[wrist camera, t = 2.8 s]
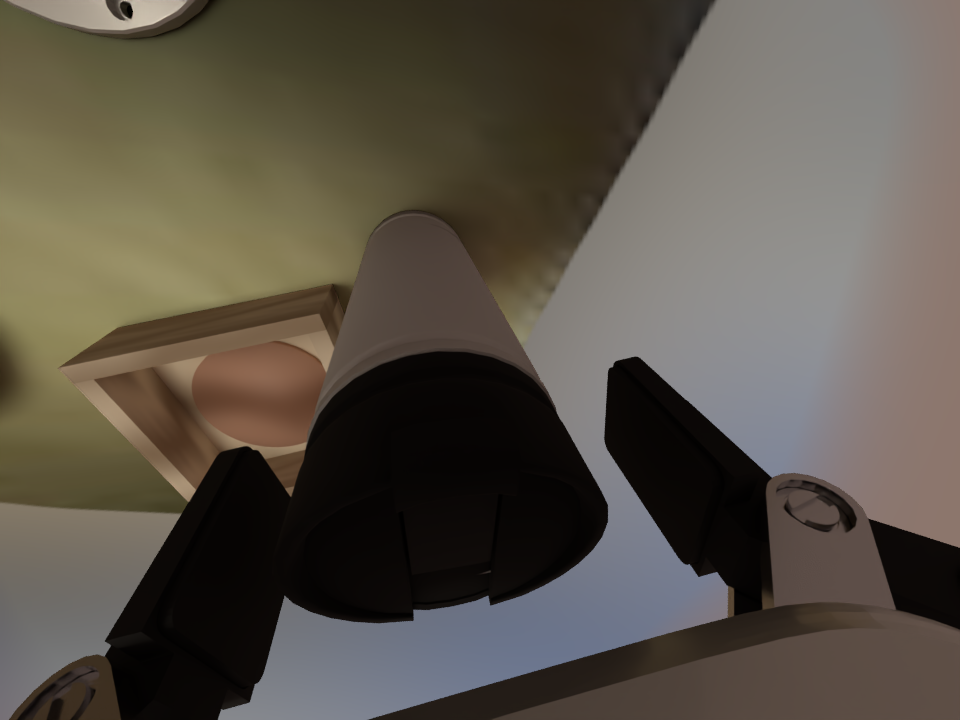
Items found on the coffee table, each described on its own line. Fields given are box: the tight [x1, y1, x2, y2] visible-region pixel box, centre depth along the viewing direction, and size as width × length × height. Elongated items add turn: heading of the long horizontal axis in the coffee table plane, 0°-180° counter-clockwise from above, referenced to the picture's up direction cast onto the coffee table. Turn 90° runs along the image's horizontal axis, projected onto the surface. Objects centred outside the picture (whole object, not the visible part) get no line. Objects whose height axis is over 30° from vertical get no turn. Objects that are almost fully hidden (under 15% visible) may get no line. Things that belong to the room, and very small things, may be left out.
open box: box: [58, 284, 345, 502], centre depth 24 cm, size 13×13×4 cm
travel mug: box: [272, 210, 608, 623], centre depth 14 cm, size 6×7×20 cm
